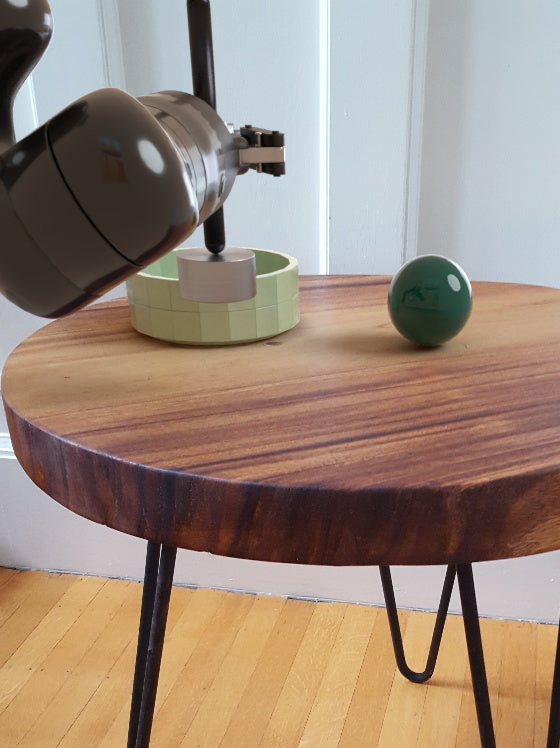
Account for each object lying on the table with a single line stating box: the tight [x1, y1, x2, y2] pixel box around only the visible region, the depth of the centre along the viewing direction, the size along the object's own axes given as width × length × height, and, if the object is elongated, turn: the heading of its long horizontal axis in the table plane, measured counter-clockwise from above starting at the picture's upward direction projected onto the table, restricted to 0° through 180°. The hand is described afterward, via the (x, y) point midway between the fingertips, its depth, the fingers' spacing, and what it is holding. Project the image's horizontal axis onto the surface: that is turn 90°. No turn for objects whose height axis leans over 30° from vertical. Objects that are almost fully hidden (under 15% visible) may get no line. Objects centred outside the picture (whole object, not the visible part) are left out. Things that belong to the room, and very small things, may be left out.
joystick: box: [176, 0, 257, 303], centre depth 70 cm, size 6×6×20 cm
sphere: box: [387, 253, 474, 347], centre depth 89 cm, size 8×8×8 cm
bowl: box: [125, 245, 301, 346], centre depth 94 cm, size 17×17×6 cm
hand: (215, 139), depth 72 cm, fingers closed on joystick
